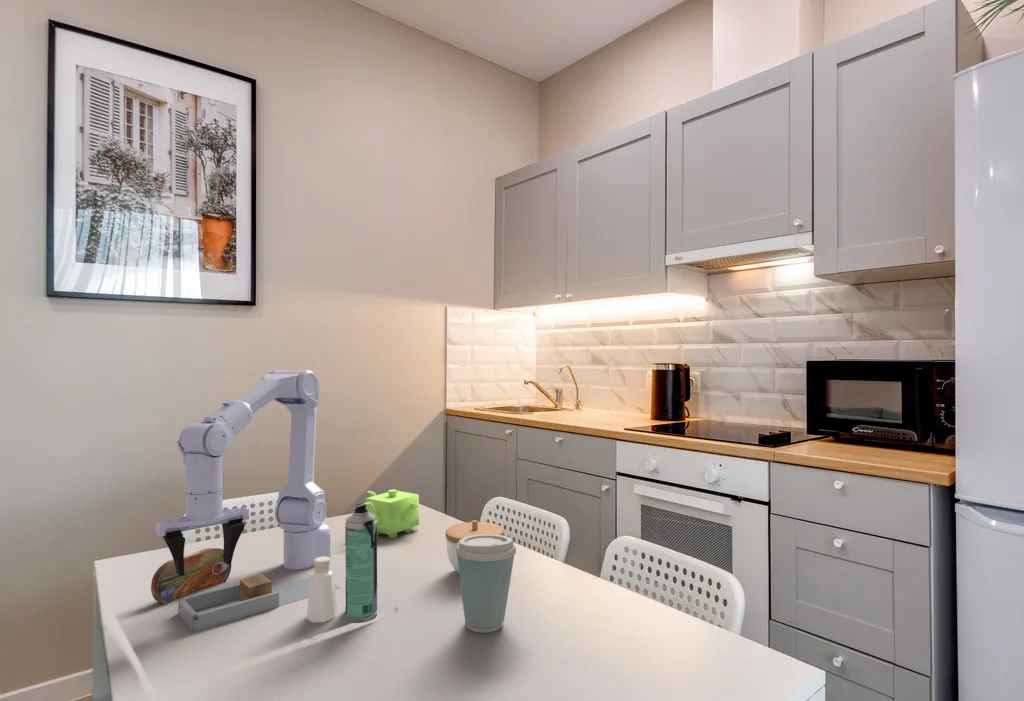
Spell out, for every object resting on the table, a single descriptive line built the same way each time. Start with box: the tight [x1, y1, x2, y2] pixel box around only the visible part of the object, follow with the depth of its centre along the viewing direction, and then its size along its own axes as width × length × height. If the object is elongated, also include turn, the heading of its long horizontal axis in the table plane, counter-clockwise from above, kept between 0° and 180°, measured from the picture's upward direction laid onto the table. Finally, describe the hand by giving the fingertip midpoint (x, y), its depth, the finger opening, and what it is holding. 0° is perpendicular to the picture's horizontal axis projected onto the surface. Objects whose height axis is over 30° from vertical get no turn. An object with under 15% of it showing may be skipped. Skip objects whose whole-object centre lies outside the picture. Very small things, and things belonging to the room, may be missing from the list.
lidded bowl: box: [445, 519, 505, 576], centre depth 123 cm, size 13×13×11 cm
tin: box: [150, 547, 232, 606], centre depth 112 cm, size 15×3×8 cm, turn 151°
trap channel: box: [177, 576, 341, 633], centre depth 107 cm, size 26×10×4 cm, turn 133°
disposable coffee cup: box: [455, 534, 517, 633], centre depth 99 cm, size 11×11×15 cm
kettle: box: [363, 489, 420, 539], centre depth 152 cm, size 15×14×11 cm
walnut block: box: [239, 574, 273, 602], centre depth 106 cm, size 4×5×4 cm
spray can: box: [344, 502, 378, 624], centre depth 103 cm, size 6×6×20 cm
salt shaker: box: [306, 557, 339, 623], centre depth 101 cm, size 5×5×11 cm
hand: (204, 568), depth 101 cm, fingers open, 7 cm apart
